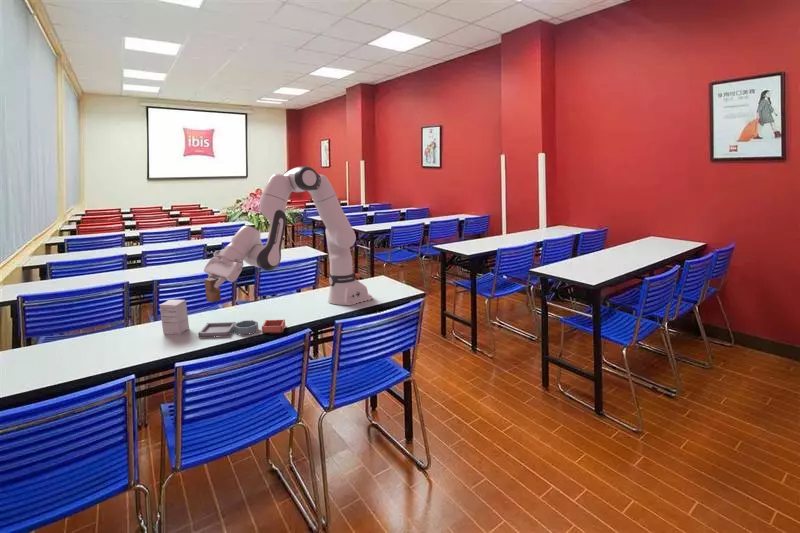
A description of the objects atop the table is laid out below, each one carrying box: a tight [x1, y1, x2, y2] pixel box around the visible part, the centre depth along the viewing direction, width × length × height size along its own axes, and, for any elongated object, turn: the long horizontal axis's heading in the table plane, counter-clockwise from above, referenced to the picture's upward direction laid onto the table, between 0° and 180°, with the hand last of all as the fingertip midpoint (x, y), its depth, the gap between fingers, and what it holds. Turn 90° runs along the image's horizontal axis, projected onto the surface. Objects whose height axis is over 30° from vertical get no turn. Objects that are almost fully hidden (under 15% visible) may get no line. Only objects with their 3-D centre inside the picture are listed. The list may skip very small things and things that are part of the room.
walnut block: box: [204, 277, 222, 304], centre depth 183 cm, size 4×4×9 cm
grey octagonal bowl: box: [233, 319, 259, 335], centre depth 188 cm, size 9×9×3 cm
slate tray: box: [197, 321, 237, 338], centre depth 187 cm, size 12×12×2 cm
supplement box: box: [159, 299, 190, 335], centre depth 187 cm, size 7×7×13 cm
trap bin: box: [261, 319, 286, 334], centre depth 189 cm, size 8×8×3 cm
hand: (210, 286), depth 183 cm, fingers closed on walnut block, 4 cm apart
